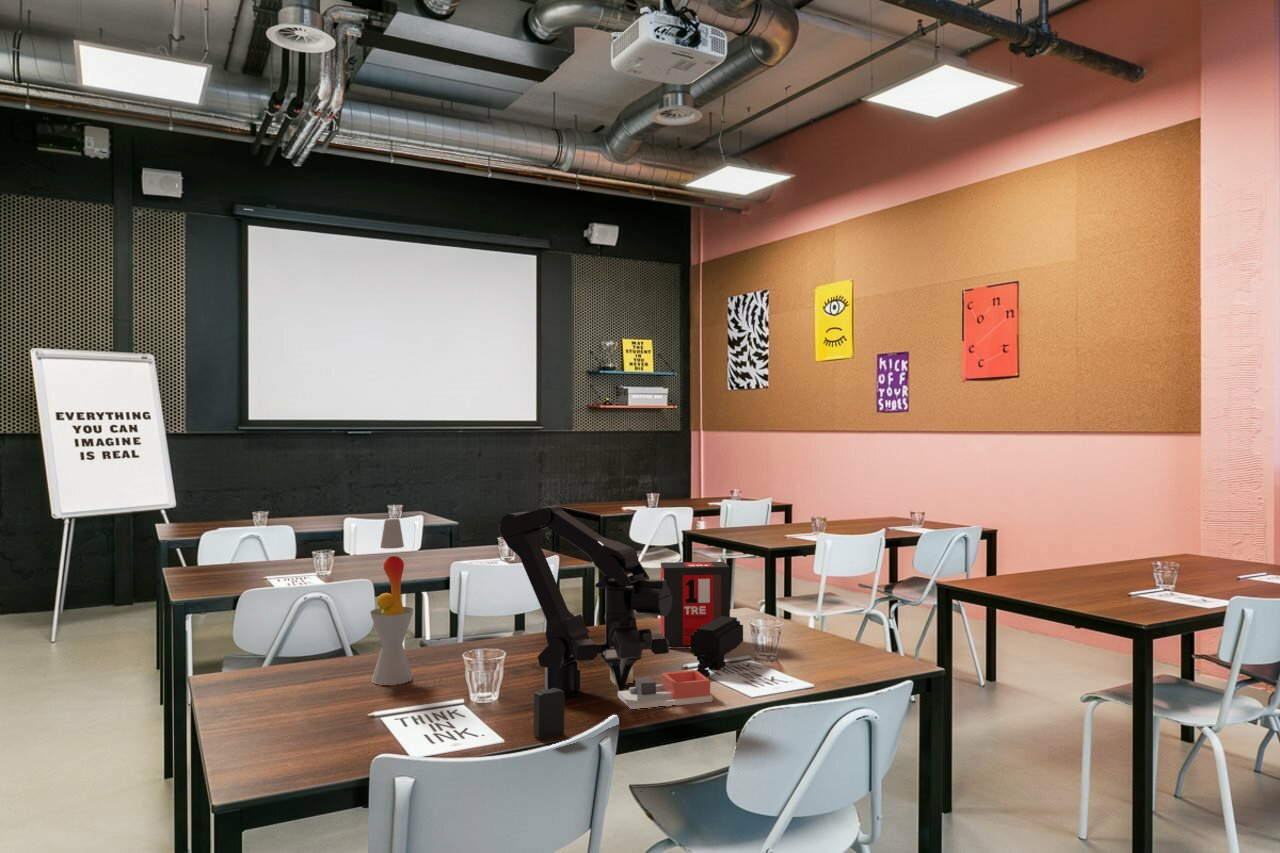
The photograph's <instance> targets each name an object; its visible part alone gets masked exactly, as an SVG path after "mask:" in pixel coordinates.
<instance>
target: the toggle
mask: <svg viewBox="0 0 1280 853" xmlns="http://www.w3.org/2000/svg"><path fill="white" fill-rule="evenodd" d="M634 680H635V681H634V682H635V686H634V687H635V693H636V694H637V695H647V694H656V685H657V682H656V681H655V680H654V679H653V678H652V677H651V676H644V677H643V676H642V677H635V679H634Z"/></svg>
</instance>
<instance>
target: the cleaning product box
mask: <svg viewBox="0 0 1280 853" xmlns="http://www.w3.org/2000/svg"><path fill="white" fill-rule="evenodd" d="M730 570H731V568H730V566H729V565H728V564H727V563H726V562H725V561H681V562H680V561H679V562H677V561H673V562H660V579H662V580H666V581H667V586H668V587H669V589H670V591H671V595H672V606H671V610H670V612H669V614H668V615H667V616H660V635H662V636H663V637H665V638H666V639H667V640H668V642H669V647H691V635H692V634H693V633H694V632H695V631H696V630H697V628H699V627H701V626H703V625H705V624H707V623H709V622H711V621H713V620H715V619H717V618H719V617H721V616H726V617H731V595H730V594H731V584H730V580H731V576H730V574H731V573H730V572H731V571H730Z"/></svg>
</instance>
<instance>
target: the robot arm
mask: <svg viewBox="0 0 1280 853" xmlns="http://www.w3.org/2000/svg"><path fill="white" fill-rule="evenodd" d="M547 528H548V529H550V530H551V531H553V532H554V533H556V534H557V535H558V536H560V537H561V538H563V539H564V540H566V541H567V542H569V543H570V544H572V545H573V546H574V547H576V548H577V549H578V550H580V551H582V552H583V553H585V554H586V555H587V556H589V558H590V559H591V561H592V562H593V564H594V566H595V567H596V568H597V570H598V571H600V572H601V573H602V574H603V576H602V577H601V579H600V580H598V582H596V583H595V585H594V586H595V588H599V589H605V593H604V594H605V595H604V596H605V614H604V620H605V634H604V641H605V642H598V643H596V642H594V640H592V638H590V636H589V633H590V632H591V631H590V630H589V628H587V626H586V624H585V623H586V622H585V620H584V619H585V618H584V617H583V615H582V614H581V613H580V614H577V615H574V614H573V613H572V612H571V611H570V610H569V609H568V607H567V604H566V602H565V600H564V597H563V595H562V593H561V590H560V588H559V586H558V583H557V581H556V579H555V576H554V575H553V571H552V570H551V566H550V564H549V562H548V560H547V558H546V555H545V553H544V551H543V549H542V540H543V532H542V530H543V529H544V530H545V529H547ZM498 530H499V533H500V536H501V538H502V539H503V541H504V543H505V544H506V546H507V547H508V548H509V549H510V550H511V551H512V552H513V553H515V554H516V555H517V556H518V557H519V560H520V561H521V564H522V566H523V569H524V571H525V573H526V575H527V579H528V580H529V583H530V585H531V587H532V590H533V592H534V595H535V596H536V598H537V602H538V604H539V607H540V608H541V611H542V613H543V616H544V618H545V622H546V623H545V639H546V642H547V646H546V647H545V648H544V649H543V650H542V651H541V652H540V653H539V654H538V655H537V660H538V662H539V666H540V667H542V668H544V686H543V687H542V690H547V689H551V688H557V689H560V690H562V691H564V695H565V698H569V697H571V698H572V697H579V696H580V694H581V693H580V690H581V670H580V669H579V667H578V666H579V664H578V662H581V661H593V660H595V659H596V658H597V656H598V655H599V657H600V658H601V660H603V662H605V663H607V665H608V666H609V670H610V669H611V672H612V675H613V677H614V680H615V683H616V685H615V686H616V688H617V689H616V690H618V691H625V690H624V689H625V686H626V685H627V684H626V681H627V678H628V675H629V672H630V670H631V668H632V665H633V666H634V664H635V663H636V662H637V661H640V660H641V659H642V656H643V650H644V651H645V650H650V651H651V652H652V653H653V654H654V655H666V654H669V653H670V648H669V642H668V640H667V639H666V638H665V637H663V636H662V635H661V633H653V632H652V630H651V629H650V628H645V629H638V626H637V621H636V620H637V618H636V617H635V612H636V613H637V614H642V615H651V616H659V617H661V616H667V615H668V614H669V612H670V610H671V606H672V595H671V591H670V589H669V587H668V586H667V581H666V580H662V579H661V578H660V579H650V576H649V574H648V573H647V571H646V570H645V568H644V567H643V565H642V564H641V561H640V560H639V557H638V552H637V551H636V550H635V549H634V548H633V547H631V546H629V545H627V544H626V543H625V544H624V543H623V542H620V541H617V540H613V539H609V538H606V537H604V536H602V535H601V534H599V533H597V532H596V531H595V530H593V529H591V528H590V527H589V526H588V525H586V524H584V523H583V522H581V521H579V520H578V519H576V518H575V517H573V515H571V514H569V513H568V512H566V511H565V510H564V509H563V508H562V507H560V506H559V505H557V504H556V505H547V506H543V507H541V508H539V509H537V510H533V511H522V512H514V513H507V514H505V515H504V516H503V517H502V518H501V520H500V524H499V525H498ZM628 575H629V576H628ZM577 661H578V662H577Z"/></svg>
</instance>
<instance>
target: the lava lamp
mask: <svg viewBox="0 0 1280 853" xmlns="http://www.w3.org/2000/svg"><path fill="white" fill-rule="evenodd" d="M402 532H403V530H402V526H401V520H400V519H399V518H397V517H393V518H391V517H390V518H386V519H385V520H384V523H383V530H382V534H381V535H382V536H381V542H380V549H389V550H390V549H399V548H400V549H401V548H404V547H405V544H404V537H403V533H402ZM382 566H383V570H384V573H385V574H386V576H387V578H388V581H389V584H390V587H391V588H390V589H391V593H389V592H384V593H381V594H380V595H378V597H377V600H376V604H377V606H378V607H379V608H376V609H373V610H371V611H369V612H370V616H371V618H372V619H371V620H372V622H373V624H374V627H375V630H376V633H377V636H378V638H379V642H380V644H381V648H380V652H379V655H378V658H377V661H376V665H375V669H374V672H373V675H372V678H371V681H372V682H371V683H372V684H373V683H374V684H373V685H375V684H379V685H378V686H382V685H390V686H398V685H397V684H399V685H403V684H407V683H409V682H411V681H412V680H413V679H414V678H413V677H414V676H413V673H412V670H411V668H410V664H409V660H408V657H407V655H406V651H405V648H404V645H403V644H404V641H405V638H406V634H407V632H408V629H409V626H410V623H411V620H412V617H413V613H414V612H415V610H414V608H413V607H409V606H404V605H403V602H402V596H401V583H402V577H403V571H404V570H405V569H404V568H405V563H404V560H403V559H402V558H401V557H400V556H395V555H394V556H393V555H392V556H390V557H387V558H386V559H385V560H384V562H383V565H382ZM408 681H409V682H408ZM406 682H407V683H406ZM402 683H403V684H402Z"/></svg>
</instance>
